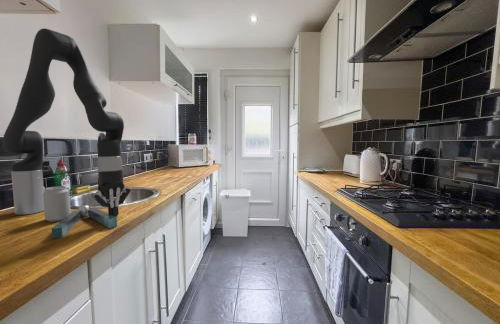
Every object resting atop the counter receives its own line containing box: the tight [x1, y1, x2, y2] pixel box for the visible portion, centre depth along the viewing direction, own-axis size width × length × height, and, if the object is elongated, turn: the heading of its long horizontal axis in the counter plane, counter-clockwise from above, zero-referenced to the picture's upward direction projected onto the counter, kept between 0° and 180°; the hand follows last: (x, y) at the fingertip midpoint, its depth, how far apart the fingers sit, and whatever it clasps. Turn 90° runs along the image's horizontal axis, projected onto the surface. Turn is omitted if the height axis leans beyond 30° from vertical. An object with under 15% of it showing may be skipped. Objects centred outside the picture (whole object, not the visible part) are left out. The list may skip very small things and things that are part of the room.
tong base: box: [51, 204, 90, 240], centre depth 82 cm, size 24×4×4 cm, turn 22°
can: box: [43, 185, 72, 223], centre depth 88 cm, size 8×8×12 cm
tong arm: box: [87, 207, 118, 229], centre depth 85 cm, size 20×2×3 cm, turn 51°
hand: (113, 216), depth 86 cm, fingers closed
